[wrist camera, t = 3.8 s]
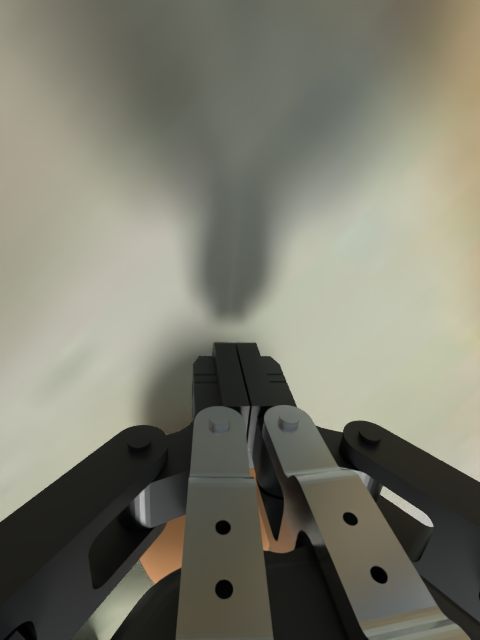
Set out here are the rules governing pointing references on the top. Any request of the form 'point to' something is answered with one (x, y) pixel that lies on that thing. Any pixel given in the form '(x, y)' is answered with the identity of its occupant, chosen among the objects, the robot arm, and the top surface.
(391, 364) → the top surface
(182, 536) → the ball
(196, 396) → the robot arm
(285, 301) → the top surface
